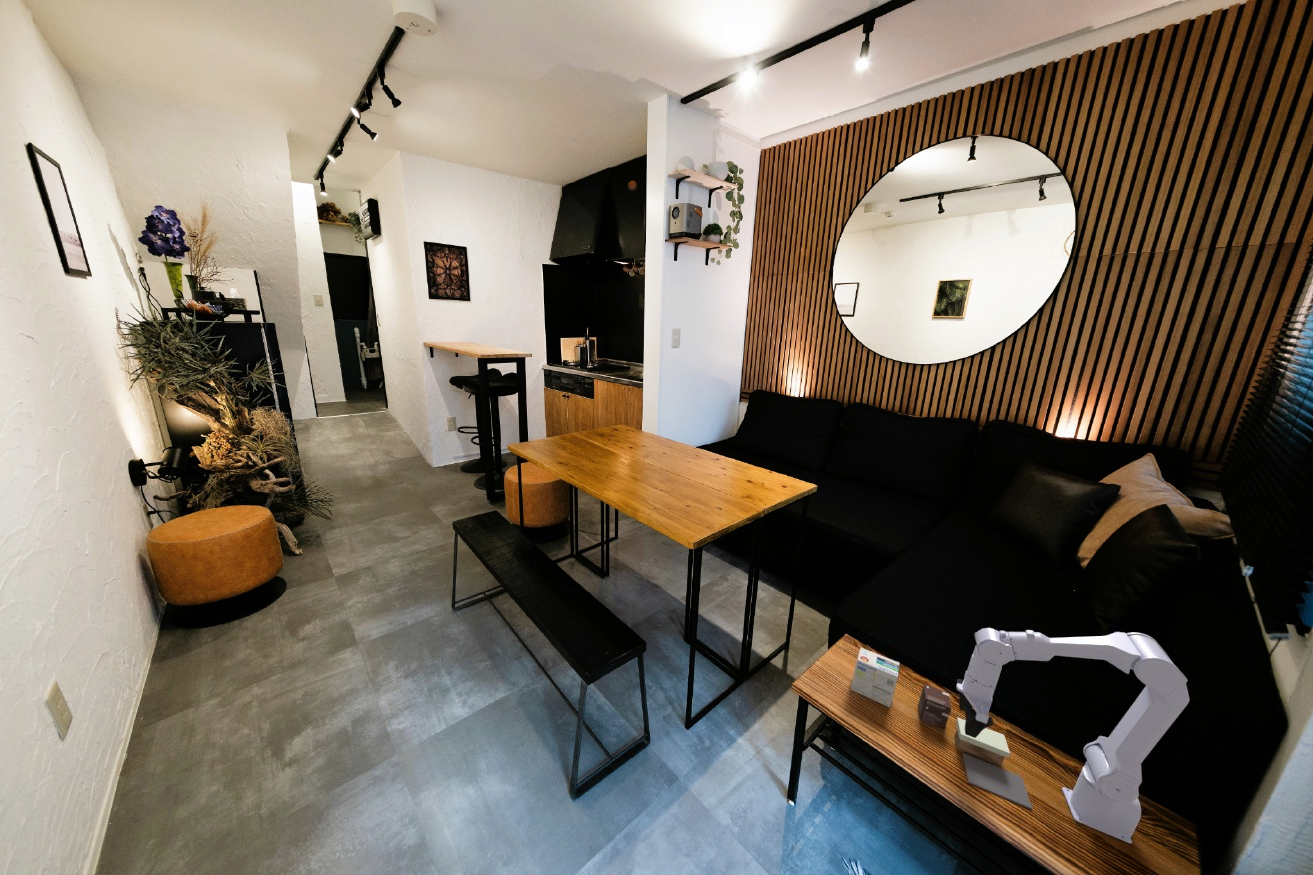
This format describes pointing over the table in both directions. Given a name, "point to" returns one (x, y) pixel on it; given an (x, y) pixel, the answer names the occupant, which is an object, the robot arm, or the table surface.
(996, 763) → the crate
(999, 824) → the table surface
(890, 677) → the light bulb box
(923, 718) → the box
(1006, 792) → the mat
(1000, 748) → the lid
